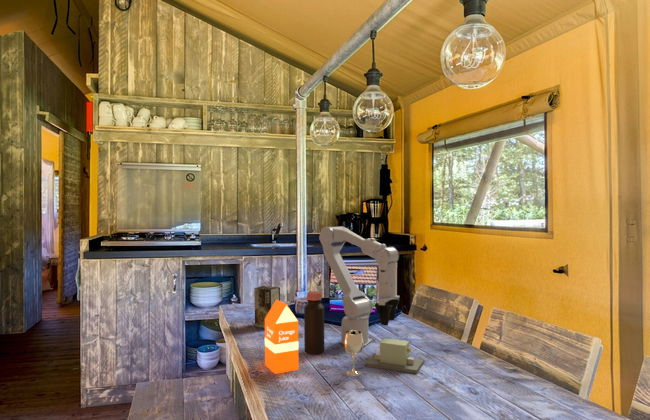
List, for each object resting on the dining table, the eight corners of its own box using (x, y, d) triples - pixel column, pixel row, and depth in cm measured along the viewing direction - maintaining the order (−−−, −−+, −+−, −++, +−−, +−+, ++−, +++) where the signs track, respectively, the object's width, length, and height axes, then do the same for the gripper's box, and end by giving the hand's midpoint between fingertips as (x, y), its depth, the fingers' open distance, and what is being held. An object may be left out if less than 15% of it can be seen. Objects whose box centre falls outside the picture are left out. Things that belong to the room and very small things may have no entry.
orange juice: (274, 374, 129) (274, 305, 129) (264, 364, 137) (264, 300, 137) (299, 369, 133) (298, 303, 133) (287, 360, 140) (287, 297, 140)
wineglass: (365, 371, 131) (365, 330, 131) (360, 378, 126) (360, 335, 126) (346, 368, 133) (346, 329, 133) (341, 375, 127) (341, 334, 127)
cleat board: (364, 365, 135) (364, 357, 135) (374, 356, 144) (374, 348, 144) (416, 373, 129) (416, 365, 129) (423, 362, 138) (423, 354, 138)
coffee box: (281, 326, 182) (281, 287, 182) (271, 329, 177) (271, 289, 177) (264, 323, 187) (264, 285, 187) (253, 326, 182) (253, 287, 182)
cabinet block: (380, 362, 136) (379, 342, 136) (384, 357, 140) (384, 338, 140) (409, 366, 132) (408, 346, 132) (412, 360, 137) (412, 341, 137)
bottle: (327, 350, 151) (327, 291, 151) (319, 356, 144) (318, 295, 144) (310, 347, 153) (309, 290, 153) (300, 353, 147) (300, 293, 147)
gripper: (393, 286, 143) (393, 328, 142) (404, 280, 156) (404, 318, 156) (372, 285, 145) (372, 326, 145) (384, 279, 159) (385, 316, 159)
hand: (387, 322), depth 151 cm, fingers open, 7 cm apart
